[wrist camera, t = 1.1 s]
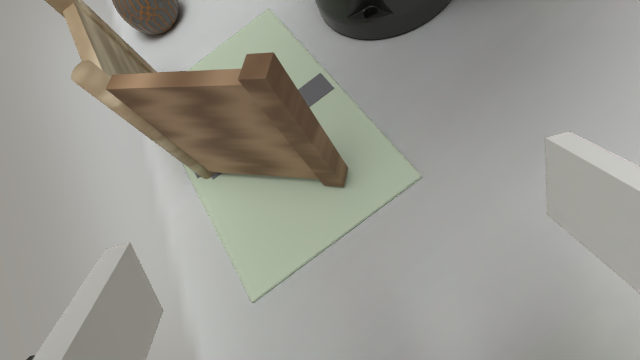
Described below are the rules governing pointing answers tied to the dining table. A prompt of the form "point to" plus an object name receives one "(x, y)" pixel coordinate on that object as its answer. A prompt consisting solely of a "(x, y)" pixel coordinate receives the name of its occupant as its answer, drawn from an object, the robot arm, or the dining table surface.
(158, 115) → the walnut panel
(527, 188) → the dining table surface
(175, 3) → the vase
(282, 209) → the card
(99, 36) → the birch fence section
